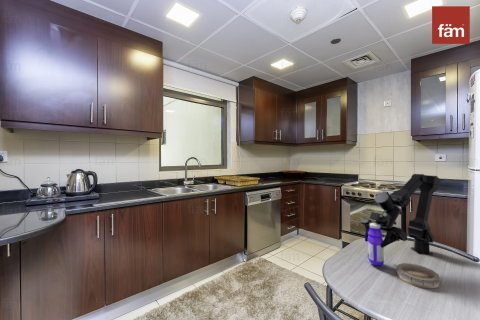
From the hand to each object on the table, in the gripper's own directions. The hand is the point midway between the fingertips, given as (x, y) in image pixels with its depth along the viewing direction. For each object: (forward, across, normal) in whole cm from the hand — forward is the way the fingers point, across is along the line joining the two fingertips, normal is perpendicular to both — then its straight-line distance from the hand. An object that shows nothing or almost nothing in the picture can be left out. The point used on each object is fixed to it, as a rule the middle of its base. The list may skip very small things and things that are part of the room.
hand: (373, 244), depth 98 cm
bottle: (+5, 0, +7) cm, 9 cm away
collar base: (+3, +14, +11) cm, 18 cm away
